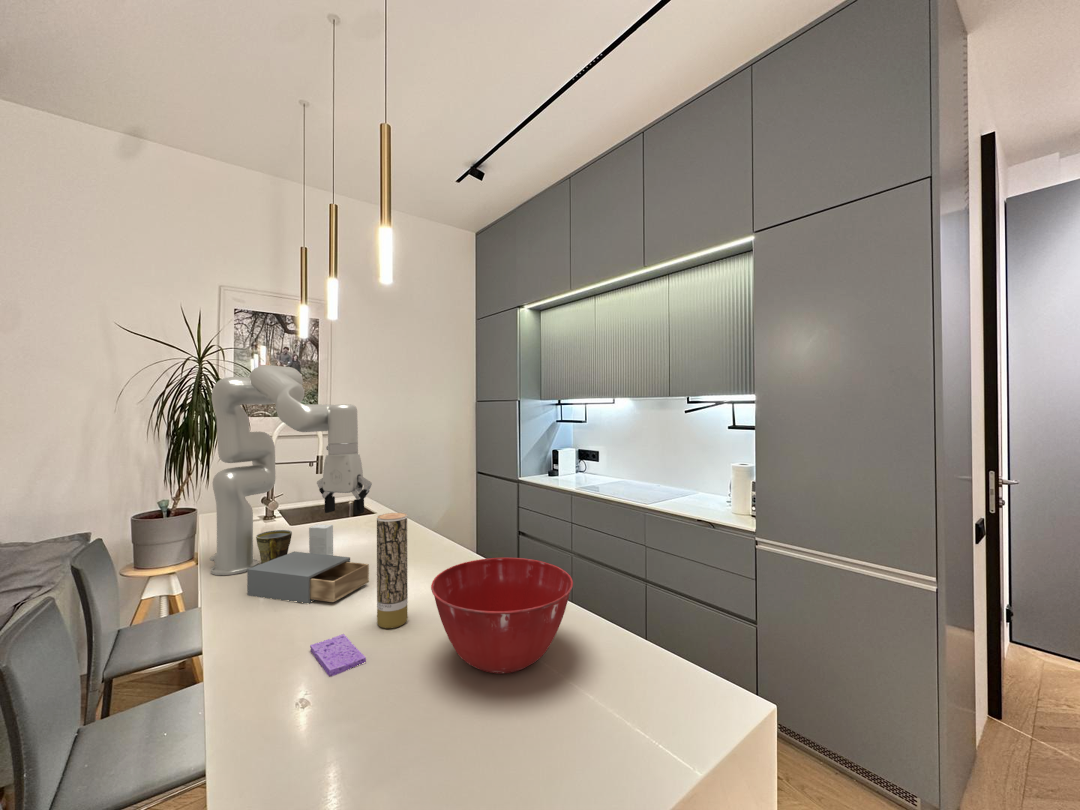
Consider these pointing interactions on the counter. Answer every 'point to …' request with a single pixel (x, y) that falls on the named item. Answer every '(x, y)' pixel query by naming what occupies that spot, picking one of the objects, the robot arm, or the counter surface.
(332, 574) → the tray
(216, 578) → the counter surface
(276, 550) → the ceramic cup
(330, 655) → the sponges
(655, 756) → the counter surface
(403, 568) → the paper tube
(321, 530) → the skincare box
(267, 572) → the sleeve
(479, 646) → the mixing bowl
